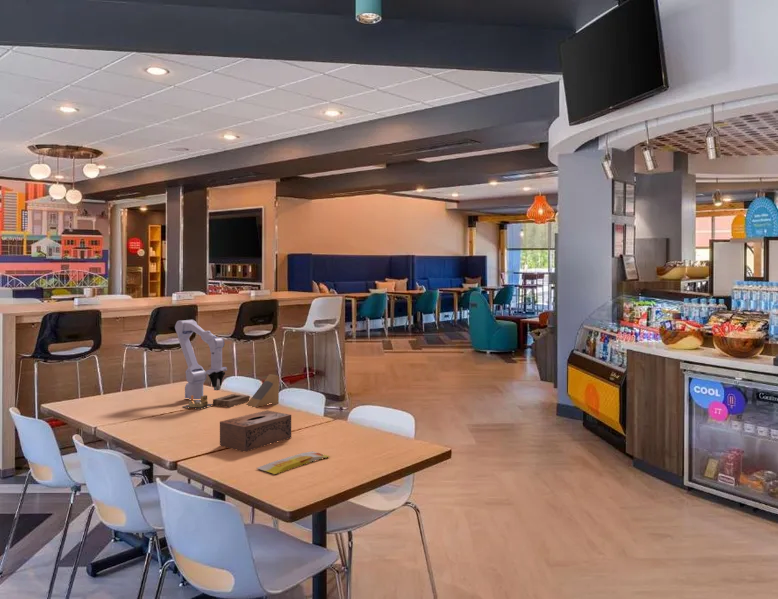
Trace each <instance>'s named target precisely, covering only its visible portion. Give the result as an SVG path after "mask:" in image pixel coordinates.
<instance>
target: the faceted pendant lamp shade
mask: <svg viewBox="0 0 778 599" xmlns="http://www.w3.org/2000/svg"><path fill="white" fill-rule="evenodd" d="M208 404H209V403H208V395H207V394H203V396H201V402H196V400H193V401H191V400H188V405H189V406H190V407H203V406H207V405H208Z"/></svg>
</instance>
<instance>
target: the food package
mask: <svg viewBox="0 0 778 599" xmlns="http://www.w3.org/2000/svg"><path fill="white" fill-rule="evenodd" d="M323 454H324V453H319V452H316V451H307V452H301V453H298V454H294V455H292V456H287V457H285V458H281V459H278V460H274V461H272V462H269V463H266V464H263V465H260V466H258V467H256V469H257V470H260V471H264V472H267V473H269V474H272V475H277V474H281V473H284V472H286V471H285V470H287V471H289V470H288V469H290V470H292V469H291V468H293V469H295V468H294V467H296V468H298V467H297V466H299V467H301V466H300V465H302V466H304V465H303V464H305V465H307V464H306V463H308V464H310V463H309V462H312V461H315V460H319V459H322V458H325V459H327V457H328V458H330V457H331V456H330V455H327V454H324V455H323ZM322 460H323V459H322ZM319 461H320V460H319ZM315 462H316V461H315ZM312 463H313V462H312ZM283 471H284V472H283ZM280 472H281V473H280Z"/></svg>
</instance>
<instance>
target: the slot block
mask: <svg viewBox="0 0 778 599" xmlns="http://www.w3.org/2000/svg"><path fill="white" fill-rule="evenodd" d="M248 401H250V395H244V394H236V393H234V394H228V395H224V396H220V397H217V398H213V399H212V404H214V406H216V405H220V406H219V407H224V406H227V407H226V408H232V407H235V406H234V405H236V406H239V405H242V404H246V403H248ZM245 402H246V403H245ZM241 403H242V404H241ZM238 404H239V405H238ZM231 406H232V407H231Z"/></svg>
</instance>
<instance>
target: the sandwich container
mask: <svg viewBox="0 0 778 599" xmlns="http://www.w3.org/2000/svg"><path fill="white" fill-rule="evenodd" d="M279 382H280V376H279V375H277V374H271V373H269V374H268V375H267V377H266V378H265V380H264V381H263V382H262V384H261V385H260V386H259V388H258V389H257V390H256V392H254V394H253V396H252V397H251V398H249V402H246V403H245V406H246V405H248V406H247V407H249V406H252V407H251V408H253V407H256V408H258V407H257V406H262V407H264V406H263V405H267V404H269V403H272V404H273V405H277V404H279V396H280V394H279V391H280V389H279V388H280V386H279V385H280V384H279ZM269 406H272V405H271V404H270V405H269Z"/></svg>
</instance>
